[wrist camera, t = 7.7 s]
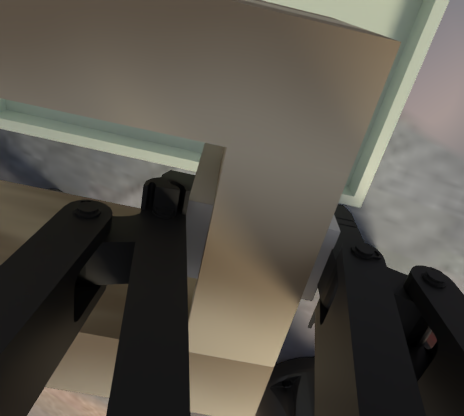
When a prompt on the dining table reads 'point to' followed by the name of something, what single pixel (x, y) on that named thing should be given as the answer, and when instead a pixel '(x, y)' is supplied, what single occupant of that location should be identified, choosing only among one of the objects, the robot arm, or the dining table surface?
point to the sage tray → (189, 151)
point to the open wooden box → (213, 132)
